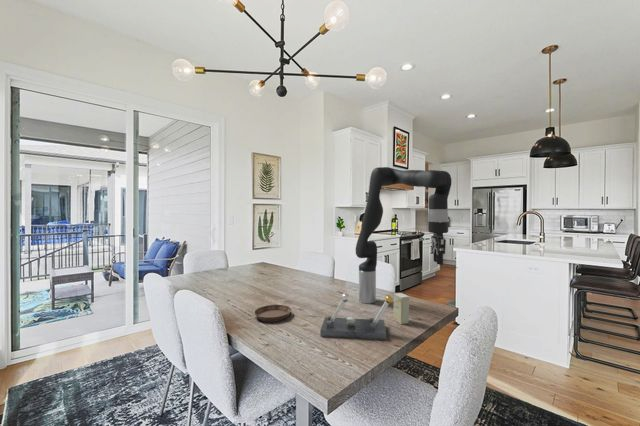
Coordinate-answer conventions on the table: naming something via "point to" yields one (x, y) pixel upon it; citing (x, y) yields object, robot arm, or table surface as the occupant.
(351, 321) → the push button
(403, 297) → the skincare box
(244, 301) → the table surface
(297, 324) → the table surface
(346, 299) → the white lever
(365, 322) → the switch panel
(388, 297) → the lever handle
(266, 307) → the plant saucer
